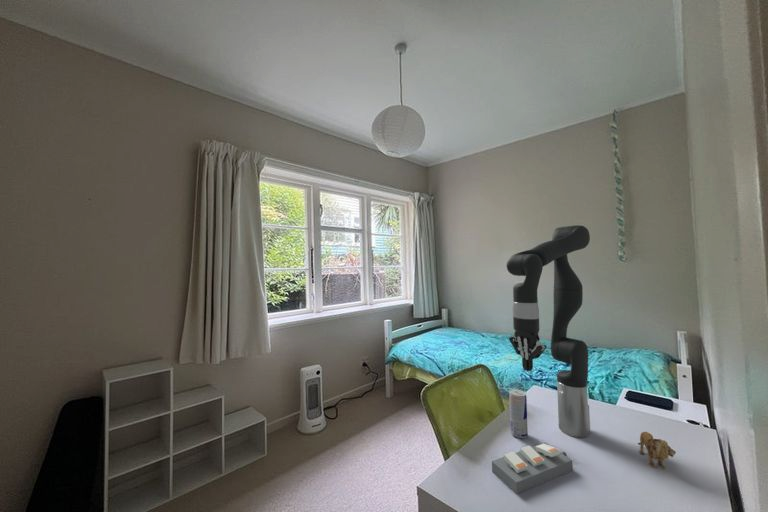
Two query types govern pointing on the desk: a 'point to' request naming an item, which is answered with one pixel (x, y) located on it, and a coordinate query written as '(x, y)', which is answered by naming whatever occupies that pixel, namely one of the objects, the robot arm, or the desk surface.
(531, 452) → the rocker middle
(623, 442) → the desk surface
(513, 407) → the beverage can
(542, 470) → the rocker switch panel
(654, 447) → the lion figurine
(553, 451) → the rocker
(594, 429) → the desk surface
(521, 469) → the block
